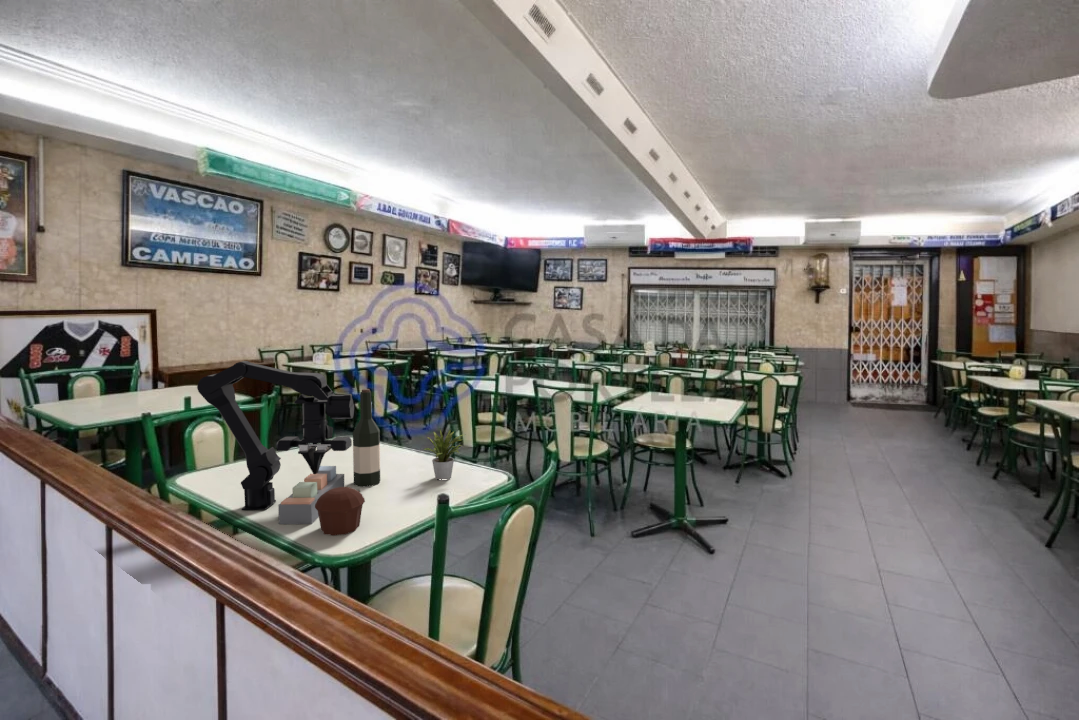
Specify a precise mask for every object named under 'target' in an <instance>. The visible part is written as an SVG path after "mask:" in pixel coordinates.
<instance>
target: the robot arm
mask: <svg viewBox="0 0 1079 720" xmlns="http://www.w3.org/2000/svg"><path fill="white" fill-rule="evenodd" d="M244 378H247V379H252V380H257V381H261V382H265V383H270V384H274V385H279V386H282V387H283V386H285V387H287V388H289V389H291V390H293V391H294V392H297V393H299V394H300V395H299V396H298V398H297V399H296V400H295V401H293V403H294V404H295V405H296V404H297V405H298V404H299V405H300V404H301V405H302V424H301V425H300V426H301V429H302V433H303V434H302V436H303V438H301V439H300V437H299V436H284V437H283V438H280V439H279V440H278V441H277V442H276V448H274V447H273V446H272V447H270V448H267V447H266V446H265V445H263V443H262V442H261V440H260V438H259V437H258V436H257V434H256V432H255V430H254V429H253V427H252V425H251V423H249V421H248V419H247V417H246V416H245V413H244V412H243V411H242V409H241V407H240V406H239V404H238V402H237V399H236V393H235V391H236V390H235V388H234V386H233V385H234V384H236V383H238V382H240V380H242V379H244ZM196 389H197V391H198V393H199V394H200V395H201V396H202V398H203V399H204V400H205V401H206V402H207V403H208V404H210V405H211V406H212V407H214V408H215V409H216V410H218V412H219V413H220V415H221V417H222V418H223V420H224V422H225V424H226V425H227V426H228V428H229V431H230V432H231V433H232V435H233V437H234V438H235V440H236V442H237V443H238V445H239V446H240V448H241V449H242V451H243V452H244V455H245V462H246V467H247V470H248V473H249V474H248V475H247V476H246V477H244V479H242V481H241V482H240V485H241V488H242V490H243V491H244V493H243V494H244V506H242V507H241V510H242V511H259V510H260V511H263V510H264V511H265V510H267V509H268V508H270V507H271V506H273V504H275V503H277V500H276V499H275V498H276V496H275V495H276V493H275V490H276V489H275V488H274V487H273V486H274V485H273V482H272V480H273V479H274V476H275V475H276V474H277V473H278V472H279V471H280V470H281V462H280V460H282V457H280V456H279V455H278V454H277V452H280V451H281V452H287V451H289V450H290V449H291V448H293V447H294V448H298V450H299V451H297V454H298V455H301V456H302V457H303V459H304V461H305V462H306V463H307V464H308V467H309V468H310V471H311V472H312V474H317V473H318V470H319V467H320V466H321V464H322V462H323V459H324V456H325V454H326V453H327V452H329V451H330V450H332V451H333V452H344V451H345V452H346V451H347V450H349V449H350V448H351V447H353V439H351V437H350V436H336V437H334V438H333V431H334V427H333V426H330V425H328V420H327V419H326V416H327V417H329V418H330V419H332V420H334V419H335V420H336V419H337V420H338V419H339V420H340V419H342V420H343V419H353V418H354V414H355V404H354V400H353V395H352V393H345V394H335V393H334V392H333V390H332V389H331V388H330V386H329V385H328V384H327V380H326V377H325V376H324V375H323V374H321V373H318V372H296V371H295V372H294V371H289V370H284V369H280V368H276V367H270V366H266V365H262V364H258V363H253V362H250V361H248V360H244V361H243V360H242V361H238V362H235V363H234V364H233V365H232V366H230V367H227V368H225V369H223V370H222V371H220V372H218V373H214V374H210V375H209V374H208V375H206V376H203V377H202V378H200V379H199V381H198V382H197V386H196ZM275 449H276V450H275Z"/></svg>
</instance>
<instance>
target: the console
mask: <svg viewBox="0 0 1079 720" xmlns="http://www.w3.org/2000/svg"><path fill="white" fill-rule="evenodd" d="M338 487H346V486H345V473H336V477H335V478H334V479H333V480H332V481H327V486H325V487H324V488H323V489H322V490H317V495H316V496H314V497H313V498H293V493H292V494H290V495H288V496H287V497H286V498H284V499H283V500H281V502H280V503H279V504H278V505H277V507H278V509H277V510H278V511H277V512H278V525H312V524H313V523H314V522H315V521H317V519H319V515H318V511H317V510H316V508H315V504H316V502H317V500H318V499H319V497H320V496H321V495H323V494H324V493H326V492H327V491H329V490H330V489H333V488H338Z"/></svg>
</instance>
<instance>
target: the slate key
mask: <svg viewBox="0 0 1079 720" xmlns="http://www.w3.org/2000/svg"><path fill="white" fill-rule="evenodd" d="M317 474H327V481H332V480H333V479H334V478H335V477H336V474H337V466H336V465H320V467H319V470H318V473H317Z"/></svg>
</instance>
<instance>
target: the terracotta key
mask: <svg viewBox="0 0 1079 720" xmlns="http://www.w3.org/2000/svg"><path fill="white" fill-rule="evenodd" d="M303 482H317V490H322V489H323V488H324V487H325V486H327V474H313V473H310V474H308V475H307V476H306V477H304V479H303Z"/></svg>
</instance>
